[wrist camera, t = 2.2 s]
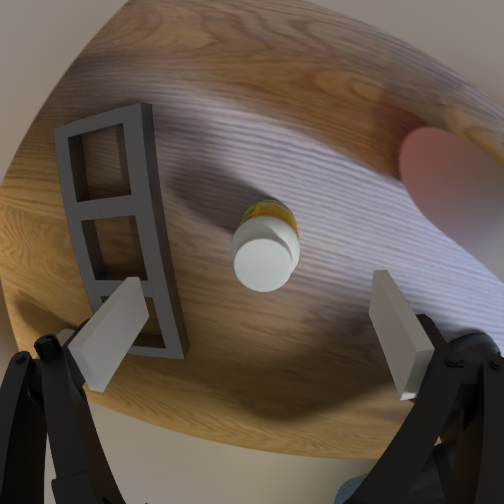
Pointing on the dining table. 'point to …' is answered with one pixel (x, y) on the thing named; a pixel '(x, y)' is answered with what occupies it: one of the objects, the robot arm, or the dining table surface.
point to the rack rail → (116, 205)
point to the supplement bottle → (265, 246)
